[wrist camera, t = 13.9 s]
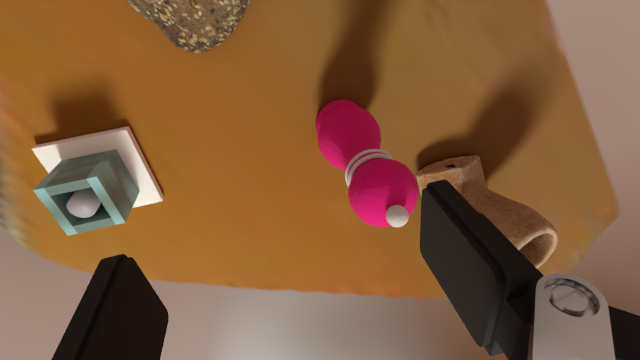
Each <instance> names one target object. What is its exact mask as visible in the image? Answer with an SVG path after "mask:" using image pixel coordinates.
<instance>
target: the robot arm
mask: <svg viewBox="0 0 640 360" xmlns="http://www.w3.org/2000/svg"><path fill="white" fill-rule="evenodd" d="M420 251H421V254H422V256H423V258H424V260H425V261H426V263H427V264H428V266H429V268H430V269H431V271H432V273H433V274H434V276H435V277H436V279H437V281H438V282H439V284H440V285H441V287H442V289H443V290H444V292H445V294H446V295H447V297H448V298H449V300H450V302H451V303H452V305H453V306H454V308H455V310H456V311H457V313H458V315H459V316H460V318H461V319H462V321H463V323H464V324H465V326H466V328H467V329H468V331H469V332H470V334H471V336H472V337H473V339H474V340H475V342H476V343H477V344H478V345H479V346H480V347H482V346H484V347H485V348H486V350H487V352H488V353H489V355H490V356H494V355H497V354H501V353H504V354H505V355H506V357H507V358H508V359H509V360H640V316H638V315H635V314H632V313H629V312H626V311H623V310H620V309H617V308H613V307H611V306H608V305H607V303H606V300H605V298H604V297H603V295H602V294H601V293H600V292H599V291H598V290H597V289H596V288H595V287H594V286H592V285H591V284H589V283H587V282H586V281H584V280H582V279H580V278H577V277H575V276H572V275H568V274H561V273H554V274H548V275H545V276H543V275H542V274H541V273H540V272H539V270H538V269H537V268H536V267H535V266H534V265H533V264H532V263H531V262H530V261H529V260H528V259H527V258H526V257H525V256H524V255H523V254H522V253H521V252H520V251H519V250H518V249H517V248H516V247H515V246H514V245H513V244H512V243H511V242H510V241H509V240H508V239H507V238H506V237H505V236H504V235H503V233H502V232H501V231H500V230H499V229H498V228H497V227H496V226H495V225H494V224H493V223H492V222H491V221H490V220H489V219H488V218H487V217H486V216H485V215H483V214H482V213H479V212H477V211H476V210H475V209H474V208H473V207H472V206H471V205H470V204H469V203H468V201H467V200H466V199H465V198H464V197H463V196H462V195H461V194H460V193H459V192H458V191H457V190H456V189H455V188H454V187H453V186H452V185H451V184H450V183H449V182H448V181H447V180H445V179H443V180H439V181H435V182H430V183H428V184H427V186H426V188H424V189H423V190H422V202H421V229H420ZM167 324H168V312H167V309H166V308H165V306H164V305H163V303H162V302H161V300H160V299H159V297H158V295H157V294H156V292H155V291H154V289H153V288H152V286H151V285H150V283H149V282H148V280H147V279H146V277H145V275H144V274H143V272H142V271H141V269H140V268H139V266H138V265H137V263H136V262H135V260H134V259H133V258H131V257H129V258H128V257H127V256H126V255H124V254H121V255H117V256H113V257H108V258H104V259H102V260H101V261H100V263H99V264H98V266H97V269H96V271H95V273H94V275H93V277H92V279H91V281H90V283H89V285H88V287H87V289H86V291H85V293H84V295H83V297H82V299H81V301H80V303H79V305H78V307H77V309H76V311H75V313H74V315H73V317H72V319H71V321H70V323H69V325H68V328H67V329H66V332H65V333H64V335H63V337H62V339H61V342H60V344H59V346H58V348H57V350H56V352H55V354H54V356H53V358H52V360H160V357H161V352H162V347H163V343H164V337H165V334H166V328H167Z"/></svg>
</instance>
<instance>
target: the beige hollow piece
mask: <svg viewBox="0 0 640 360" xmlns="http://www.w3.org/2000/svg"><path fill="white" fill-rule="evenodd" d="M416 178H417V182H418V186H419V191H420V194H421V198H422V190H423V189H424V188H426V186H427V184H428V183H430V182H435V181H439V180H443V179H445V180H447V181H448V182H449V183H450V184H451V185H452V186H453V187H454V188H455V189H456V190H457V191H458V192H459V193H460V194H461V195H462V196H463V197H464V198H465V199H466V200H467V201H468V203H469V204H470V205H471V206H472V207H473V208H474V209H475V210H476V211H477V212H479V213H482V214H483V215H485V216H486V217H487V218H488V219H489V220H490V221H491V222H492V223H493V224H494V225H495V226H496V227H497V228H498V229H499V230H500V231H501V232H502V233H503V235H504V236H505V237H506V238H507V239H508V240H509V241H510V242H511V243H512V244H513V245H514V246H515V247H516V248H517V249H518V250H519V251H520V252H521V253H522V254H523V255H524V256H525V257H526V258H527V259H528V260H529V261H530V262H531V263H532V264H533V265H534V266H535V267H536V268H539V267H540V266H541V265H542V264H543V263H544V262H545V261H546V260H547V259H548V258H549V256H550V255H551V254H552V253H553V251H554V249H555V248H556V245H557V239H558V235H557V231H556V229H555V228H554V226H553V225H552V224H551V223H550V222H549V221H547V220H546V219H545V218H544V217H542V216H541V215H540V214H539V213H538V212H536V211H535V210H533V209H532V208H530V207H528V206H526V205H524V204H521V203H518V202H516V201H513V200H511V199H508V198H506V197H503V196H501V195H499V194H497V193H495V192H492V191H490V190H488V189H487V185H486V181H485V177H484V173H483V169H482V165H481V161H480V157H479V156H477V155H472V156H459V157H454V158H450V159H444V160H442V161H438V162H435V163H432V164H430V165H429V166H426V167H424V168H423V169H421V170H420V171H418V173H417V176H416Z"/></svg>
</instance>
